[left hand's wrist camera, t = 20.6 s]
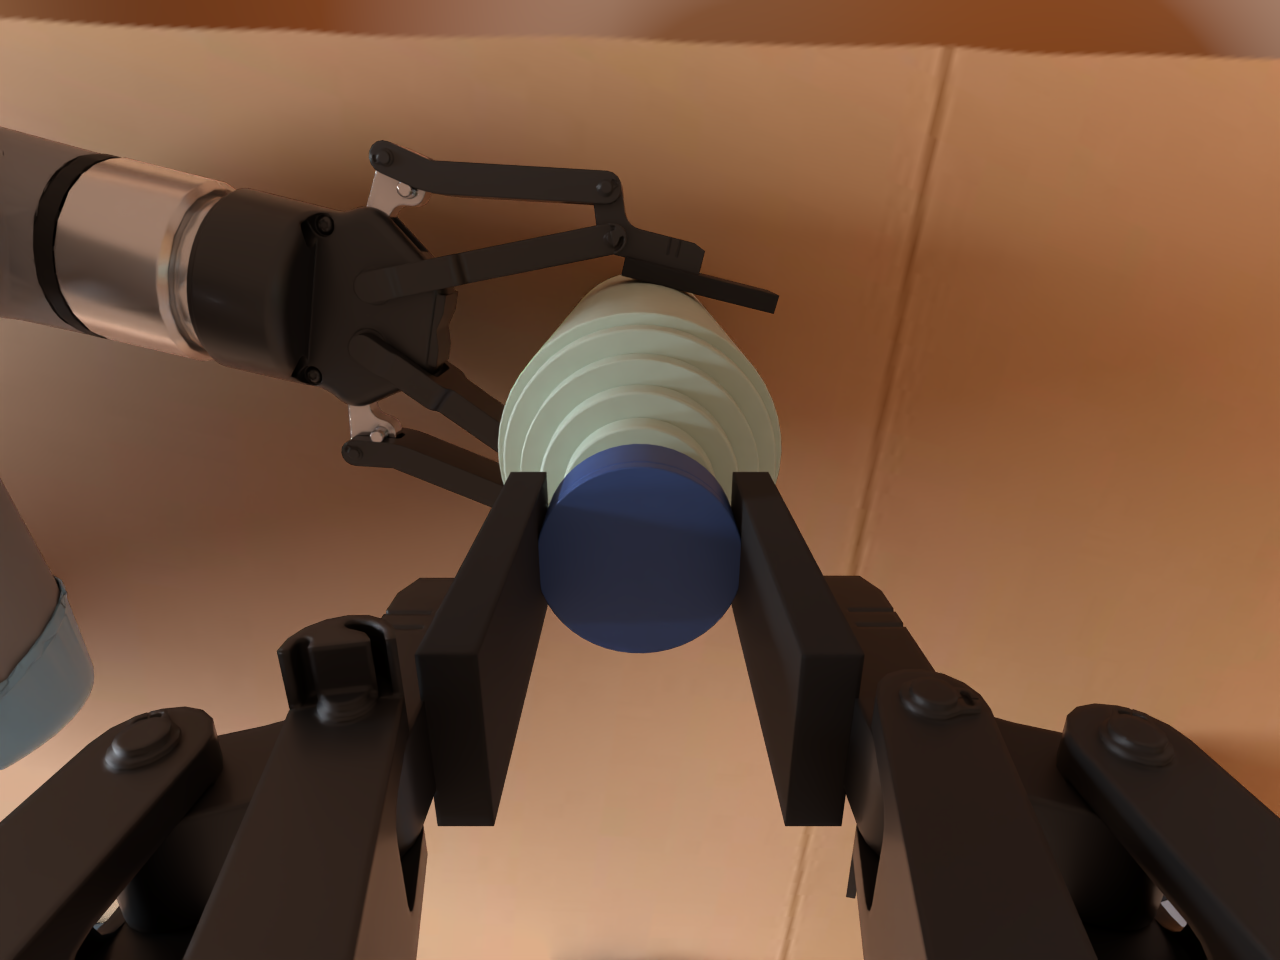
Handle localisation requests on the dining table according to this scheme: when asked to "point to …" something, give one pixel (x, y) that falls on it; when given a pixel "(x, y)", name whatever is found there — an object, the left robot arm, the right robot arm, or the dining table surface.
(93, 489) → the dining table surface
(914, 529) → the dining table surface
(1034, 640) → the dining table surface
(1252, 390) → the dining table surface
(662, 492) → the cap
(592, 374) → the bottle
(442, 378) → the right robot arm
